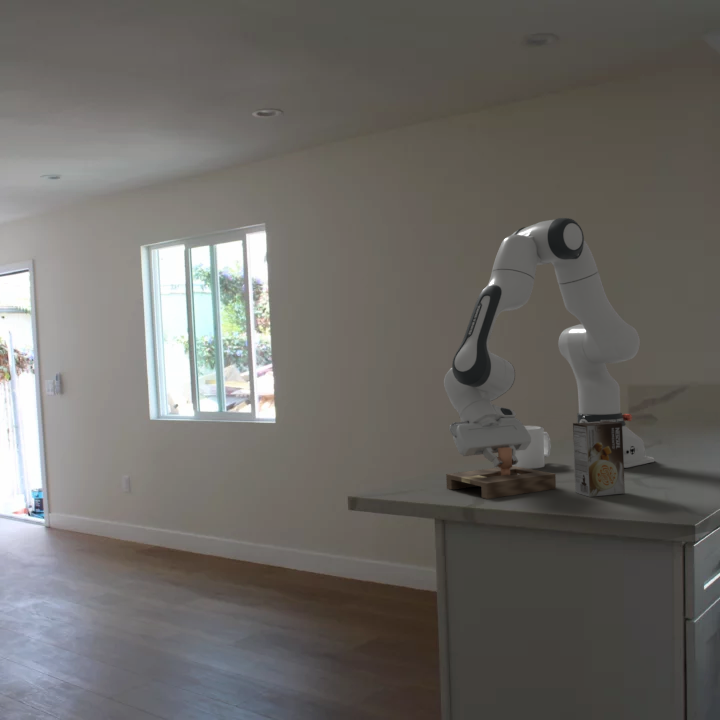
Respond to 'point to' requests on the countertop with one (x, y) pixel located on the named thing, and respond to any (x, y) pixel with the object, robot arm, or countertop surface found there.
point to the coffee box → (598, 458)
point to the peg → (505, 459)
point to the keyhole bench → (503, 481)
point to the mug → (534, 449)
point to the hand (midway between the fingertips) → (506, 464)
